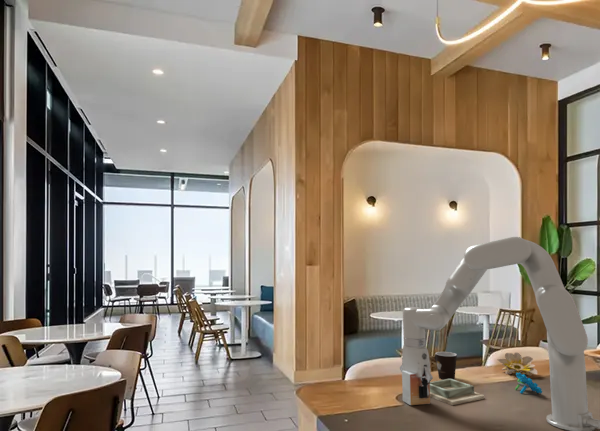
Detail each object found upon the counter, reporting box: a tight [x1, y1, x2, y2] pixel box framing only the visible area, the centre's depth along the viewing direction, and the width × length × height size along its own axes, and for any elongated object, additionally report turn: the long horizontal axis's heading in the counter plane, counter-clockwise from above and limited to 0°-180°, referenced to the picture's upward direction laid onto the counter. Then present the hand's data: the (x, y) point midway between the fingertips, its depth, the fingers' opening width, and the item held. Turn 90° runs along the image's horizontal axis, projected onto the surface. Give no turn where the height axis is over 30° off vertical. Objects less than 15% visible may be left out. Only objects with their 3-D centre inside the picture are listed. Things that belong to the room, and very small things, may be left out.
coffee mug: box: [434, 351, 457, 380], centre depth 184 cm, size 12×9×10 cm
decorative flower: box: [496, 352, 538, 377], centre depth 188 cm, size 15×11×10 cm
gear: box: [514, 373, 543, 395], centre depth 163 cm, size 11×6×10 cm
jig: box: [430, 379, 485, 406], centre depth 160 cm, size 18×16×4 cm
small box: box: [401, 371, 431, 406], centre depth 152 cm, size 8×6×10 cm
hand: (416, 394), depth 152 cm, fingers closed on small box, 6 cm apart
